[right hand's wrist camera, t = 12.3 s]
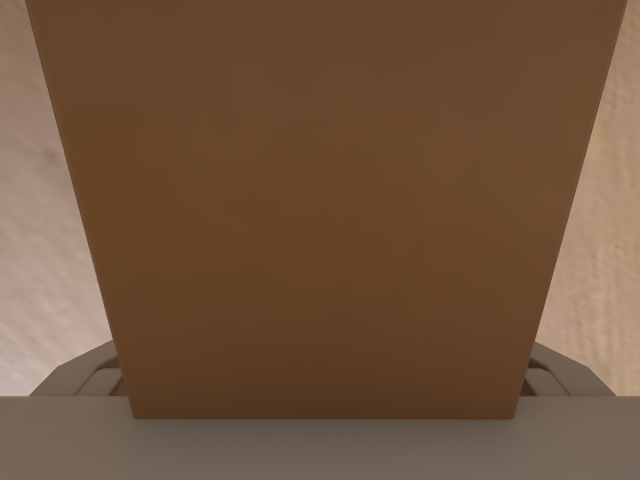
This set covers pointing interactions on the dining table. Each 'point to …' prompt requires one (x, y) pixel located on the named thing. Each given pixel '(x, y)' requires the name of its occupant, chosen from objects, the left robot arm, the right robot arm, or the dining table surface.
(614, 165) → the dining table surface
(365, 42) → the bar
